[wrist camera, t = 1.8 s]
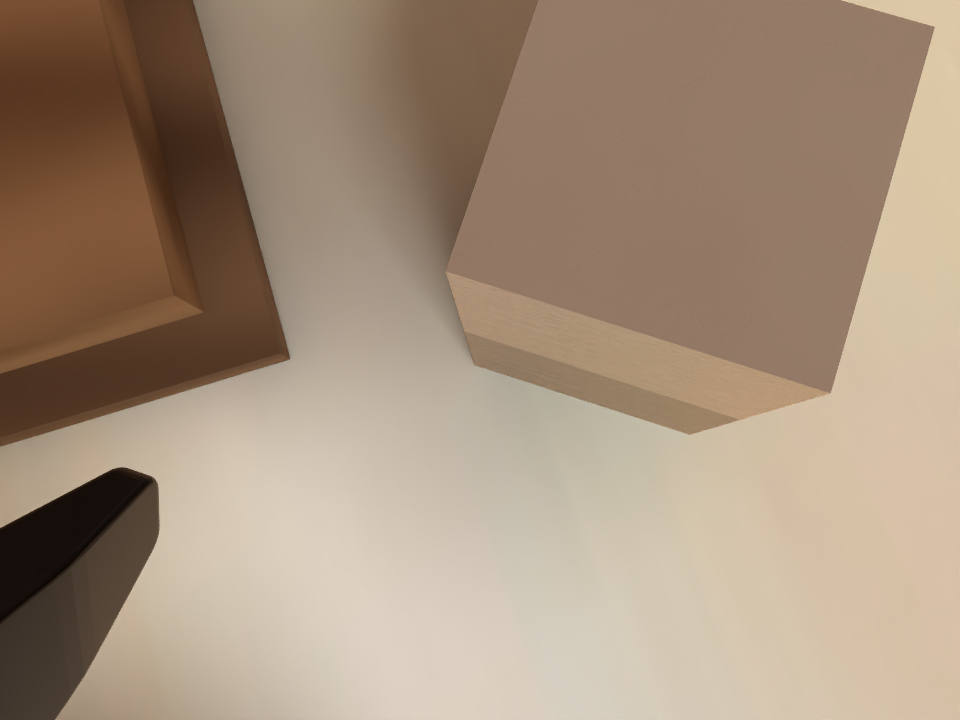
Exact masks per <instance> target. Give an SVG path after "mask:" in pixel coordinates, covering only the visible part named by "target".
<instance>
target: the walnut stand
mask: <svg viewBox="0 0 960 720" xmlns="http://www.w3.org/2000/svg"><path fill="white" fill-rule="evenodd" d="M289 359H290V356H289V353H288V349H287V345H286V342H285V338H284V334H283V331H282V327H281V323H280V320H279V316H278V312H277V309H276V305H275V301H274V298H273V294H272V290H271V287H270V283H269V279H268V275H267V272H266V268H265V264H264V261H263V257H262V253H261V250H260V246H259V242H258V239H257V235H256V231H255V228H254V224H253V220H252V217H251V213H250V209H249V206H248V202H247V198H246V195H245V191H244V187H243V184H242V180H241V176H240V172H239V169H238V165H237V161H236V158H235V154H234V150H233V147H232V143H231V139H230V136H229V132H228V128H227V125H226V121H225V117H224V114H223V110H222V106H221V103H220V99H219V95H218V92H217V88H216V84H215V80H214V77H213V73H212V69H211V66H210V62H209V58H208V55H207V51H206V47H205V44H204V40H203V36H202V33H201V29H200V25H199V22H198V18H197V14H196V11H195V7H194V3H193V0H0V446H4V445H7V444H10V443H13V442H17V441H20V440H23V439H27V438H30V437H33V436H37V435H40V434H43V433H47V432H50V431H53V430H57V429H60V428H63V427H67V426H70V425H73V424H77V423H80V422H83V421H86V420H90V419H93V418H96V417H100V416H103V415H106V414H110V413H113V412H116V411H120V410H123V409H126V408H130V407H133V406H136V405H140V404H143V403H146V402H150V401H153V400H156V399H159V398H163V397H166V396H169V395H173V394H176V393H179V392H183V391H186V390H189V389H193V388H196V387H199V386H203V385H206V384H209V383H213V382H216V381H219V380H222V379H226V378H229V377H232V376H236V375H239V374H242V373H246V372H249V371H252V370H256V369H259V368H262V367H266V366H269V365H272V364H276V363H279V362H282V361H286V360H289Z"/></svg>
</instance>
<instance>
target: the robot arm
mask: <svg viewBox="0 0 960 720" xmlns="http://www.w3.org/2000/svg"><path fill="white" fill-rule="evenodd" d="M159 526H160V525H159V491H158V483H157V482H156V480H155V479H154V478H153V477H151V476H149V475H146V474H143V473H140V472H137V471H134V470H131V469H128V468H123V467H121V468H115V469H112V470H110V471H108V472H106V473H104V474H102V475H101V476H99V477H97V478H95V479H93V480H91V481H89V482H87V483H85V484H83V485H82V486H80V487H78V488H76V489H74V490H72V491H70V492H68V493H66V494H64V495H62V496H61V497H59V498H57V499H55V500H53V501H51V502H49V503H47V504H45V505H43V506H42V507H40V508H38V509H36V510H34V511H32V512H30V513H28V514H26V515H24V516H22V517H21V518H19V519H17V520H15V521H13V522H11V523H9V524H7V525H5V526H3V527H2V528H0V720H55V719H56V717H57V716H58V715H59V713H60V712H61V710H62V709H63V707H64V706H65V704H66V703H67V701H68V700H69V699H70V697H71V696H72V694H73V693H74V691H75V689H76V688H77V686H78V685H79V683H80V682H81V680H82V679H83V677H84V676H85V674H86V672H87V670H88V669H89V667H90V665H91V663H92V662H93V660H94V658H95V656H96V655H97V653H98V651H99V649H100V647H101V645H102V643H103V642H104V640H105V638H106V636H107V634H108V632H109V631H110V629H111V627H112V625H113V623H114V621H115V619H116V618H117V616H118V614H119V612H120V610H121V608H122V606H123V605H124V603H125V601H126V599H127V597H128V595H129V593H130V592H131V590H132V588H133V586H134V584H135V582H136V580H137V579H138V577H139V575H140V573H141V571H142V569H143V568H144V566H145V564H146V562H147V560H148V558H149V556H150V555H151V553H152V551H153V549H154V546H155V544H156V542H157V538H158V534H159Z"/></svg>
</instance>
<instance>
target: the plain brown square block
mask: <svg viewBox="0 0 960 720" xmlns="http://www.w3.org/2000/svg"><path fill="white" fill-rule="evenodd" d="M934 28H935V27H933V26H929V25H926V24H922V23H919V22H915V21H912V20H908V19H905V18H901V17H897V16H894V15H890V14H887V13H883V12H880V11H876V10H873V9H869V8H866V7H862V6H859V5H855V4H852V3H848V2H844V1H841V0H538V2H537V5H536V8H535V11H534V14H533V17H532V20H531V22H530V25H529V28H528V31H527V34H526V37H525V40H524V43H523V46H522V49H521V52H520V55H519V58H518V60H517V63H516V66H515V69H514V72H513V75H512V78H511V81H510V84H509V87H508V90H507V93H506V95H505V98H504V101H503V104H502V107H501V110H500V113H499V116H498V119H497V122H496V125H495V128H494V130H493V133H492V136H491V139H490V142H489V145H488V148H487V151H486V154H485V157H484V160H483V163H482V166H481V168H480V171H479V174H478V177H477V180H476V183H475V186H474V189H473V192H472V195H471V198H470V201H469V203H468V206H467V209H466V212H465V215H464V218H463V221H462V224H461V227H460V230H459V233H458V236H457V238H456V241H455V244H454V247H453V250H452V253H451V256H450V259H449V262H448V265H447V268H446V271H445V272H446V275H447V278H448V281H449V285H450V288H451V291H452V294H453V297H454V300H455V304H456V307H457V310H458V313H459V316H460V320H461V323H462V326H463V329H464V332H465V335H466V339H467V342H468V345H469V348H470V351H471V354H472V358H473V361H474V364H475V365H476V366H479V367H482V368H486V369H489V370H492V371H495V372H498V373H501V374H504V375H507V376H510V377H513V378H516V379H519V380H523V381H526V382H529V383H532V384H535V385H538V386H541V387H544V388H547V389H550V390H553V391H556V392H560V393H563V394H566V395H569V396H572V397H575V398H578V399H581V400H584V401H587V402H590V403H594V404H597V405H600V406H603V407H606V408H609V409H612V410H615V411H618V412H621V413H624V414H627V415H631V416H634V417H637V418H640V419H643V420H646V421H649V422H652V423H655V424H658V425H661V426H664V427H668V428H671V429H674V430H677V431H680V432H683V433H686V434H689V435H690V434H693V433H697V432H700V431H704V430H707V429H710V428H714V427H717V426H721V425H724V424H727V423H731V422H734V421H738V420H741V419H745V418H748V417H751V416H755V415H758V414H762V413H765V412H768V411H772V410H775V409H779V408H782V407H785V406H789V405H792V404H796V403H799V402H802V401H806V400H809V399H813V398H816V397H819V396H823V395H826V394H830V393H831V390H832V386H833V383H834V379H835V376H836V372H837V369H838V365H839V362H840V358H841V355H842V351H843V348H844V344H845V341H846V337H847V334H848V330H849V327H850V323H851V320H852V316H853V313H854V309H855V306H856V302H857V298H858V295H859V291H860V288H861V284H862V281H863V277H864V274H865V270H866V267H867V263H868V260H869V256H870V253H871V249H872V246H873V242H874V239H875V235H876V232H877V228H878V225H879V221H880V218H881V214H882V211H883V207H884V204H885V200H886V196H887V193H888V189H889V186H890V182H891V179H892V175H893V172H894V168H895V165H896V161H897V158H898V154H899V151H900V147H901V144H902V140H903V137H904V133H905V130H906V126H907V123H908V119H909V116H910V112H911V109H912V105H913V102H914V98H915V95H916V91H917V87H918V84H919V80H920V77H921V73H922V70H923V66H924V63H925V59H926V56H927V52H928V49H929V45H930V42H931V38H932V35H933V31H934Z"/></svg>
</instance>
